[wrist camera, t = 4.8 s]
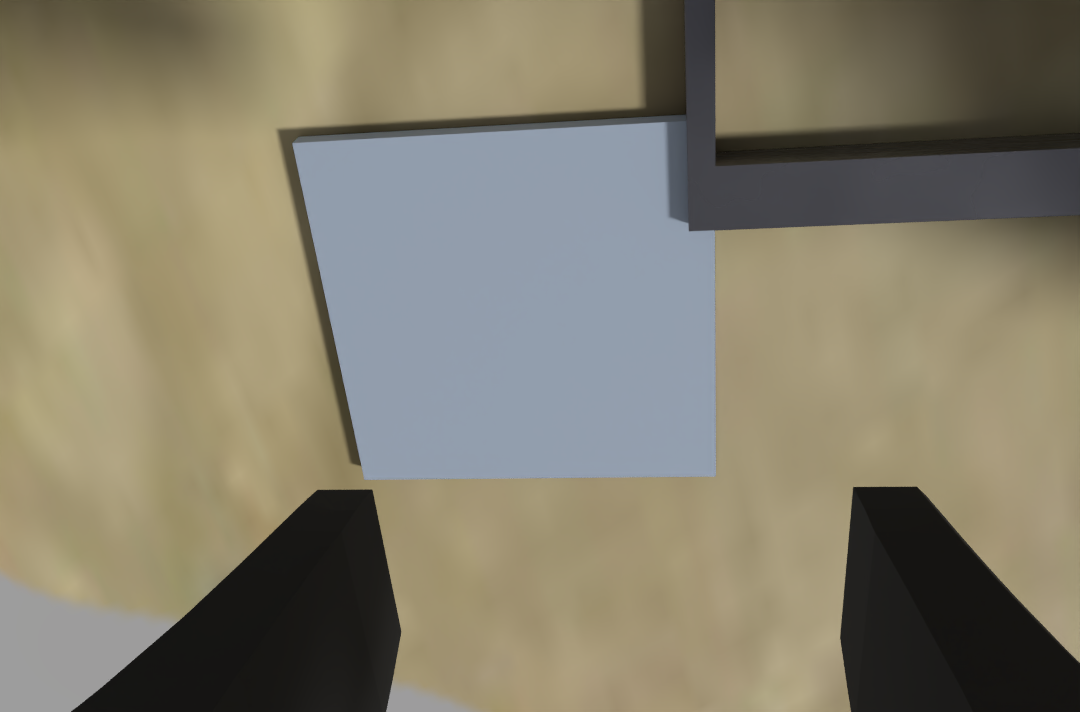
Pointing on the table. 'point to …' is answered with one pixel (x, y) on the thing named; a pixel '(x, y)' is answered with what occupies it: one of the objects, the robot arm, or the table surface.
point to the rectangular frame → (862, 169)
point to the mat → (518, 298)
